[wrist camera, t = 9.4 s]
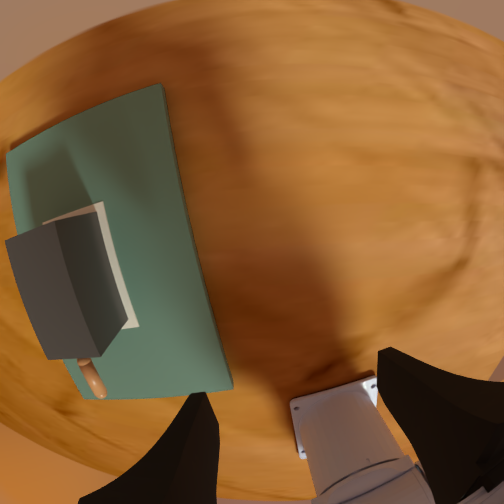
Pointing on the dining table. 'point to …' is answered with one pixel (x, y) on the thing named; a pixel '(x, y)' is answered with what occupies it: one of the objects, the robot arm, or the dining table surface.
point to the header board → (129, 241)
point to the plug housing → (69, 291)
